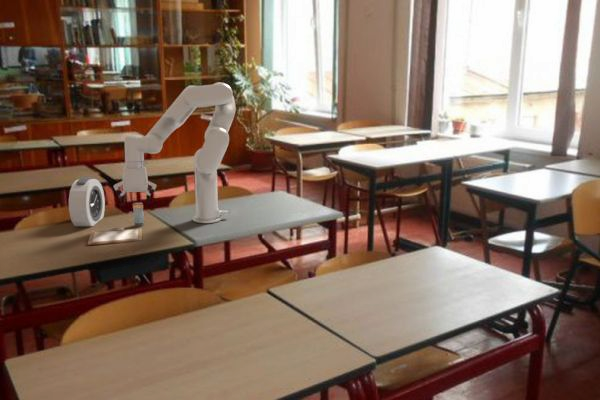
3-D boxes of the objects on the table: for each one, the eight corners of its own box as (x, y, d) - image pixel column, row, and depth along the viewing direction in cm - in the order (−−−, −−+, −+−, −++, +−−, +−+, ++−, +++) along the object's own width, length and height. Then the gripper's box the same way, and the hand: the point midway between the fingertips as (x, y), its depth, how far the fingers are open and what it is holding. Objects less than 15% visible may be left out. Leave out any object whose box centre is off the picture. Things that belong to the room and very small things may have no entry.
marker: (144, 224, 246) (142, 202, 244) (144, 227, 242) (142, 204, 240) (134, 225, 245) (132, 203, 242) (134, 228, 241) (132, 205, 239)
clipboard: (141, 229, 239) (141, 226, 239) (141, 241, 224) (141, 237, 224) (91, 233, 234) (90, 229, 234) (87, 244, 219) (87, 241, 219)
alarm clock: (88, 229, 239) (83, 183, 234) (71, 229, 239) (65, 183, 234) (106, 214, 259) (101, 172, 254) (90, 215, 260) (85, 172, 255)
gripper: (155, 163, 243) (156, 202, 247) (113, 163, 238) (114, 203, 242) (156, 166, 236) (157, 206, 240) (112, 166, 231) (113, 207, 235)
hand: (135, 204), depth 241 cm, fingers open, 9 cm apart
